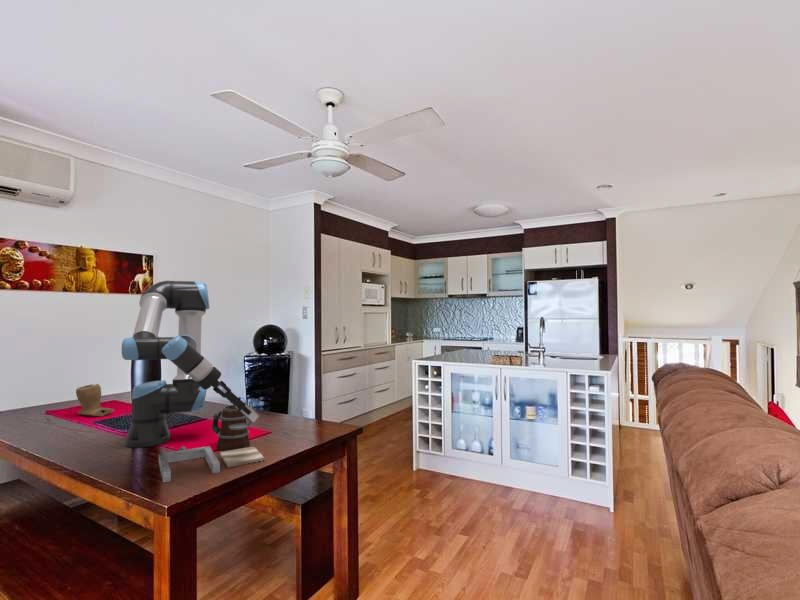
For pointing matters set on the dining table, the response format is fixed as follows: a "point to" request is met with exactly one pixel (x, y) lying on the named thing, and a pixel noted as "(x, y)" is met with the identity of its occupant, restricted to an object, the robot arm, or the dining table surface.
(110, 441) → the dining table surface
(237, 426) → the pocket watch
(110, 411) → the tan upright piece
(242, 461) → the ash board
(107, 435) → the dining table surface
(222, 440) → the mug
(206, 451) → the u-shaped metal frame
